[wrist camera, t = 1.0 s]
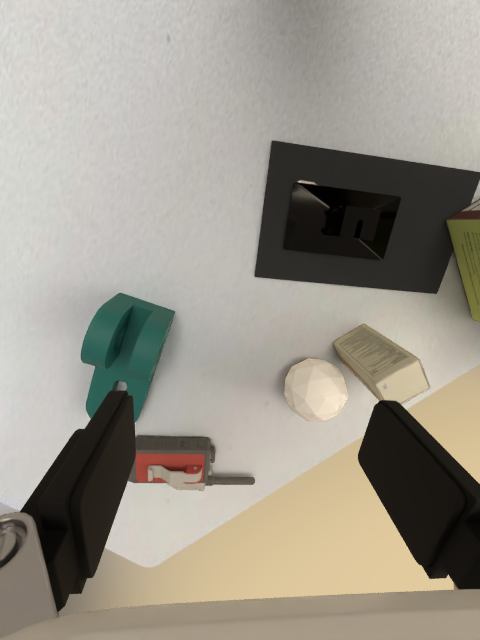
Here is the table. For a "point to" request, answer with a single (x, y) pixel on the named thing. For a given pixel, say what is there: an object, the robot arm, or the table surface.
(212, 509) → the table surface
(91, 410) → the bracket
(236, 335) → the table surface
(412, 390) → the printed cream carton
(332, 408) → the geometric ball
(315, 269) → the desk mat
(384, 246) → the build plate
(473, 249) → the protein box
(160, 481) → the walkie-talkie
